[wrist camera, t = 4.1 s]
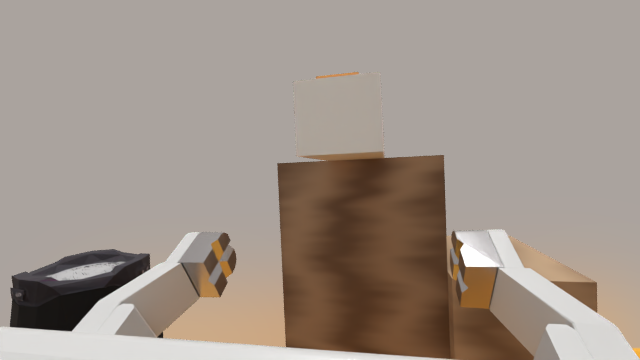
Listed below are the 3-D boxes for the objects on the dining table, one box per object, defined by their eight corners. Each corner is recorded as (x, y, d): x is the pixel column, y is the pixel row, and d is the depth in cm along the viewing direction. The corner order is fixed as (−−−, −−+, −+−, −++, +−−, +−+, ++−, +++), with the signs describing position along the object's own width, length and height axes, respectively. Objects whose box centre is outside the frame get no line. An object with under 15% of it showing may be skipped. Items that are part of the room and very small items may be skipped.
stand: (512, 408, 32) (505, 156, 31) (602, 576, 19) (594, 146, 18) (323, 388, 36) (313, 165, 35) (286, 514, 23) (270, 163, 22)
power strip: (384, 162, 37) (383, 131, 37) (383, 151, 14) (380, 66, 14) (351, 164, 38) (350, 133, 38) (296, 156, 15) (292, 75, 14)
